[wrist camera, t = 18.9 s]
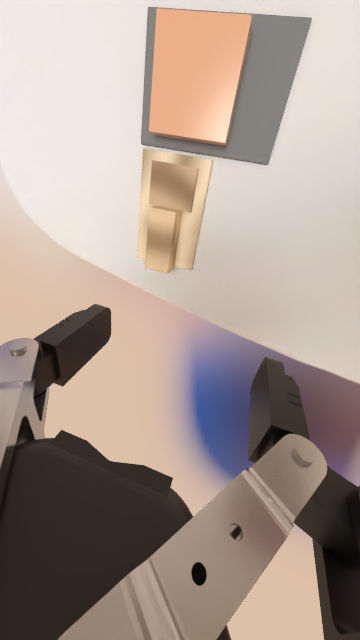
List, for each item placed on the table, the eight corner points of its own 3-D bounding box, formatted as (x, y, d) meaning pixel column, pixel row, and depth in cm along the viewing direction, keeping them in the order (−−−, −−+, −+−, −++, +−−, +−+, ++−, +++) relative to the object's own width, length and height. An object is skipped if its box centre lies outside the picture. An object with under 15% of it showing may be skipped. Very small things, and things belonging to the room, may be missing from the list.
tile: (252, 14, 19) (156, 8, 21) (225, 142, 24) (148, 131, 25) (251, 30, 21) (163, 23, 22) (226, 146, 26) (155, 135, 27)
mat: (310, 20, 20) (312, 17, 20) (267, 164, 26) (267, 164, 26) (149, 9, 23) (147, 7, 22) (142, 144, 28) (141, 143, 28)
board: (213, 160, 27) (212, 159, 26) (192, 269, 34) (191, 270, 34) (145, 149, 28) (143, 148, 28) (139, 256, 36) (137, 257, 35)
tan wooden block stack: (181, 268, 34) (175, 275, 31) (146, 260, 35) (136, 265, 32) (198, 168, 27) (192, 165, 24) (153, 160, 28) (142, 156, 25)
